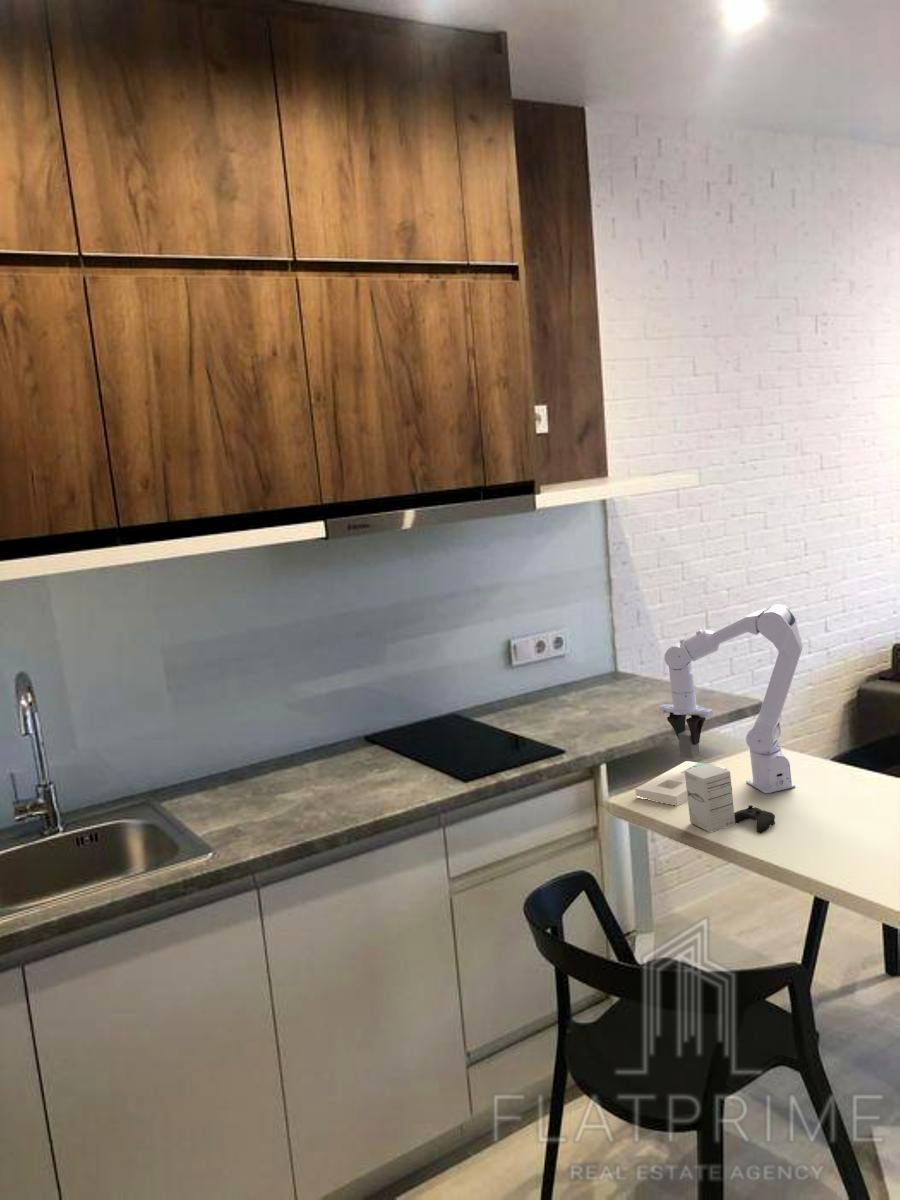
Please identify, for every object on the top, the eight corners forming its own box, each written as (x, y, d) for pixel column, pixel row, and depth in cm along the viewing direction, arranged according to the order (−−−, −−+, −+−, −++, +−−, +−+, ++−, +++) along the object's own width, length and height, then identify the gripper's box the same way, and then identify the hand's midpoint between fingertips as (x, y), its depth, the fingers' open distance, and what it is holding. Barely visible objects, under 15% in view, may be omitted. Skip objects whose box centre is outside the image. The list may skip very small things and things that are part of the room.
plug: (692, 758, 233) (689, 735, 232) (680, 756, 235) (677, 734, 234) (701, 753, 235) (698, 731, 234) (689, 752, 238) (686, 729, 237)
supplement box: (689, 823, 210) (683, 770, 209) (716, 814, 213) (710, 762, 211) (709, 833, 203) (703, 778, 202) (736, 824, 206) (731, 770, 204)
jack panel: (677, 806, 221) (676, 795, 221) (636, 798, 230) (635, 787, 230) (727, 776, 235) (726, 766, 235) (687, 770, 244) (686, 760, 244)
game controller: (726, 820, 207) (738, 796, 209) (740, 831, 209) (752, 808, 211) (758, 832, 199) (771, 807, 200) (773, 843, 201) (785, 819, 202)
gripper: (649, 692, 236) (656, 744, 238) (699, 697, 225) (705, 751, 227) (666, 685, 240) (672, 735, 242) (715, 689, 229) (721, 742, 231)
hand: (689, 742), depth 235 cm, fingers closed on plug, 3 cm apart
